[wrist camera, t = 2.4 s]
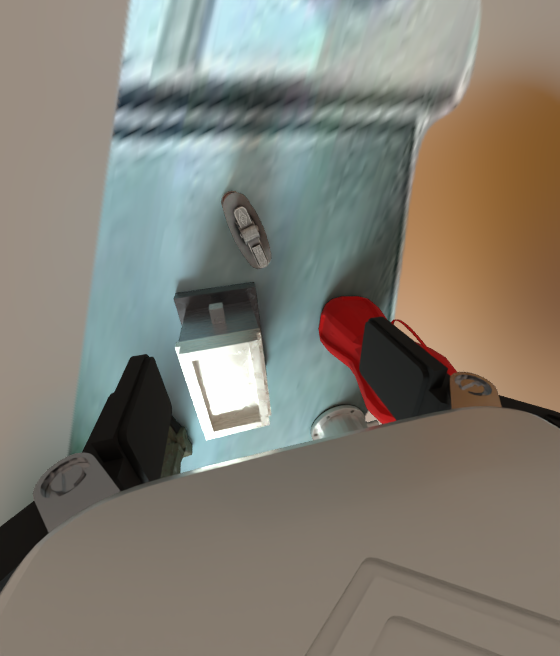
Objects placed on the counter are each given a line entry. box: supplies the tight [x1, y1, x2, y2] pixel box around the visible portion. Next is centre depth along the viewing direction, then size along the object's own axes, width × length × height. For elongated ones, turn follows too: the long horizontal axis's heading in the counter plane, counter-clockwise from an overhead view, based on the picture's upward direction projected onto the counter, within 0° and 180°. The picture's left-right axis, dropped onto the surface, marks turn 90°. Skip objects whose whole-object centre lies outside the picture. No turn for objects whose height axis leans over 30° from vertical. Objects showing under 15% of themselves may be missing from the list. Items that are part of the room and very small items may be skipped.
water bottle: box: [319, 296, 457, 424], centre depth 33 cm, size 9×11×25 cm
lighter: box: [221, 191, 271, 269], centre depth 29 cm, size 8×3×10 cm, turn 22°
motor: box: [174, 282, 271, 439], centre depth 35 cm, size 11×16×14 cm
